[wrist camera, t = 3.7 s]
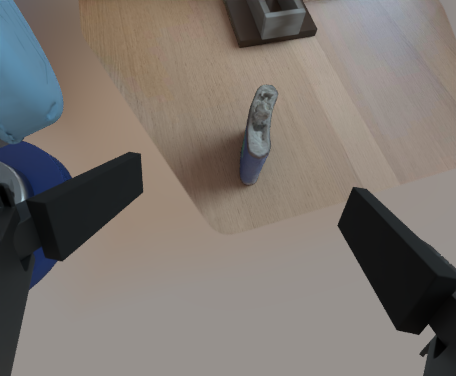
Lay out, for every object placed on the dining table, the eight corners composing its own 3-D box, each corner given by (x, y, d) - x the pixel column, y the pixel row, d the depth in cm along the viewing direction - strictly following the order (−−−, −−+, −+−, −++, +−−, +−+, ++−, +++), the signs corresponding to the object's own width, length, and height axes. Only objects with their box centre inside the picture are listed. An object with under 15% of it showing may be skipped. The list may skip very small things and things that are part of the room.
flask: (256, 187, 29) (274, 149, 19) (235, 183, 29) (241, 143, 19) (264, 130, 32) (283, 70, 22) (245, 126, 32) (255, 65, 22)
